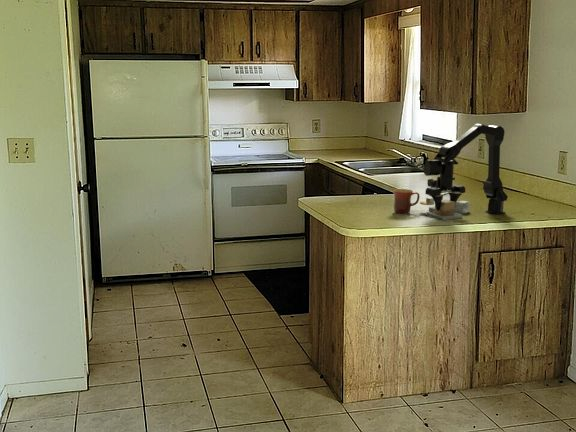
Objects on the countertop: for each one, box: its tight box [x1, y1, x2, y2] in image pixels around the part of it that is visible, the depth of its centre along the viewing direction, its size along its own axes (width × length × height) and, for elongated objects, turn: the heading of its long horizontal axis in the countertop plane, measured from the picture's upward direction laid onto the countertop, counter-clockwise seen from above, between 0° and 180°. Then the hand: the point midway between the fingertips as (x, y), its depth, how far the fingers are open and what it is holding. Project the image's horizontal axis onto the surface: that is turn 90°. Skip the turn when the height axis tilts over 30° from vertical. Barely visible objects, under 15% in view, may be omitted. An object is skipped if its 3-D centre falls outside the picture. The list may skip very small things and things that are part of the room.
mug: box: [392, 188, 421, 215], centre depth 318 cm, size 12×9×10 cm
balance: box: [419, 192, 449, 212], centre depth 323 cm, size 22×6×9 cm, turn 120°
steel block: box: [454, 199, 470, 215], centre depth 321 cm, size 5×5×5 cm
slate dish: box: [425, 211, 463, 221], centre depth 311 cm, size 11×11×1 cm
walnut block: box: [434, 199, 455, 216], centre depth 311 cm, size 6×6×6 cm
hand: (444, 209), depth 311 cm, fingers open, 7 cm apart
